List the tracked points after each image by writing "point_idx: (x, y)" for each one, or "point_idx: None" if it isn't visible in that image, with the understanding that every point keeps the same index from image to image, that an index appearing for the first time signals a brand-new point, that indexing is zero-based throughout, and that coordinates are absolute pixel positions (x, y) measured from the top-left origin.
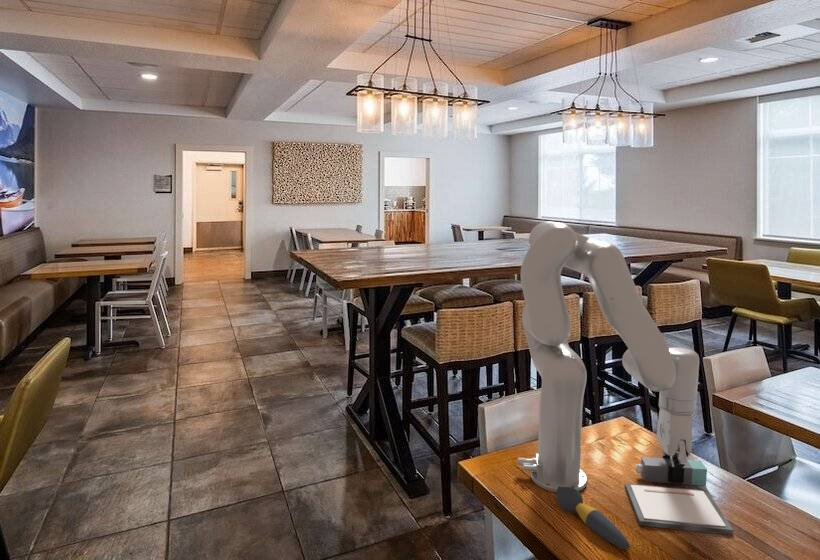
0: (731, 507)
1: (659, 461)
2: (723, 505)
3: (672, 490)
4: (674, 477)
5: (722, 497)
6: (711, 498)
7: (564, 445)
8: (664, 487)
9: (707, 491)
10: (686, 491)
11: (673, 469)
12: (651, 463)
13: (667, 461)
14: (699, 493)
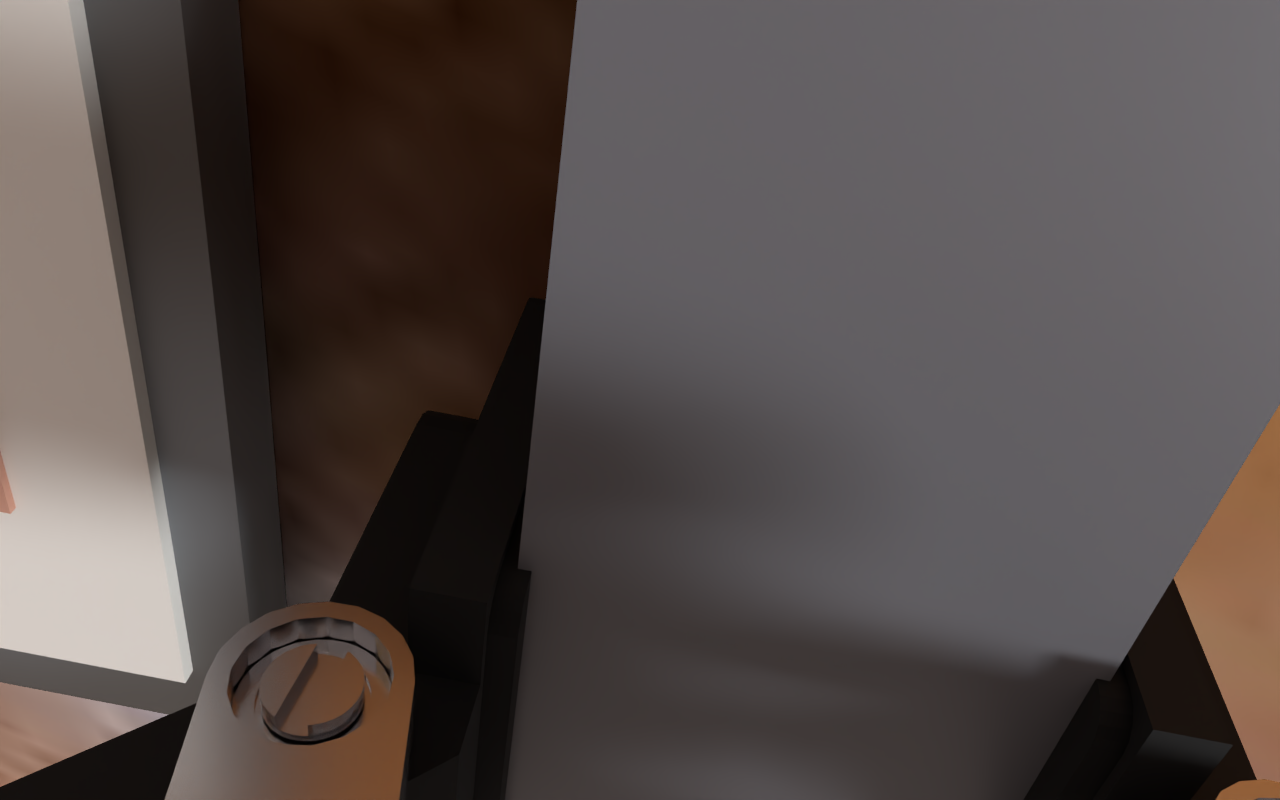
0: (40, 760)
1: (906, 462)
2: (55, 712)
3: (3, 181)
4: (403, 466)
5: None
6: (14, 678)
7: None
8: (151, 57)
9: None
10: (67, 441)
11: (376, 604)
12: (773, 81)
13: (867, 674)
14: (78, 603)
